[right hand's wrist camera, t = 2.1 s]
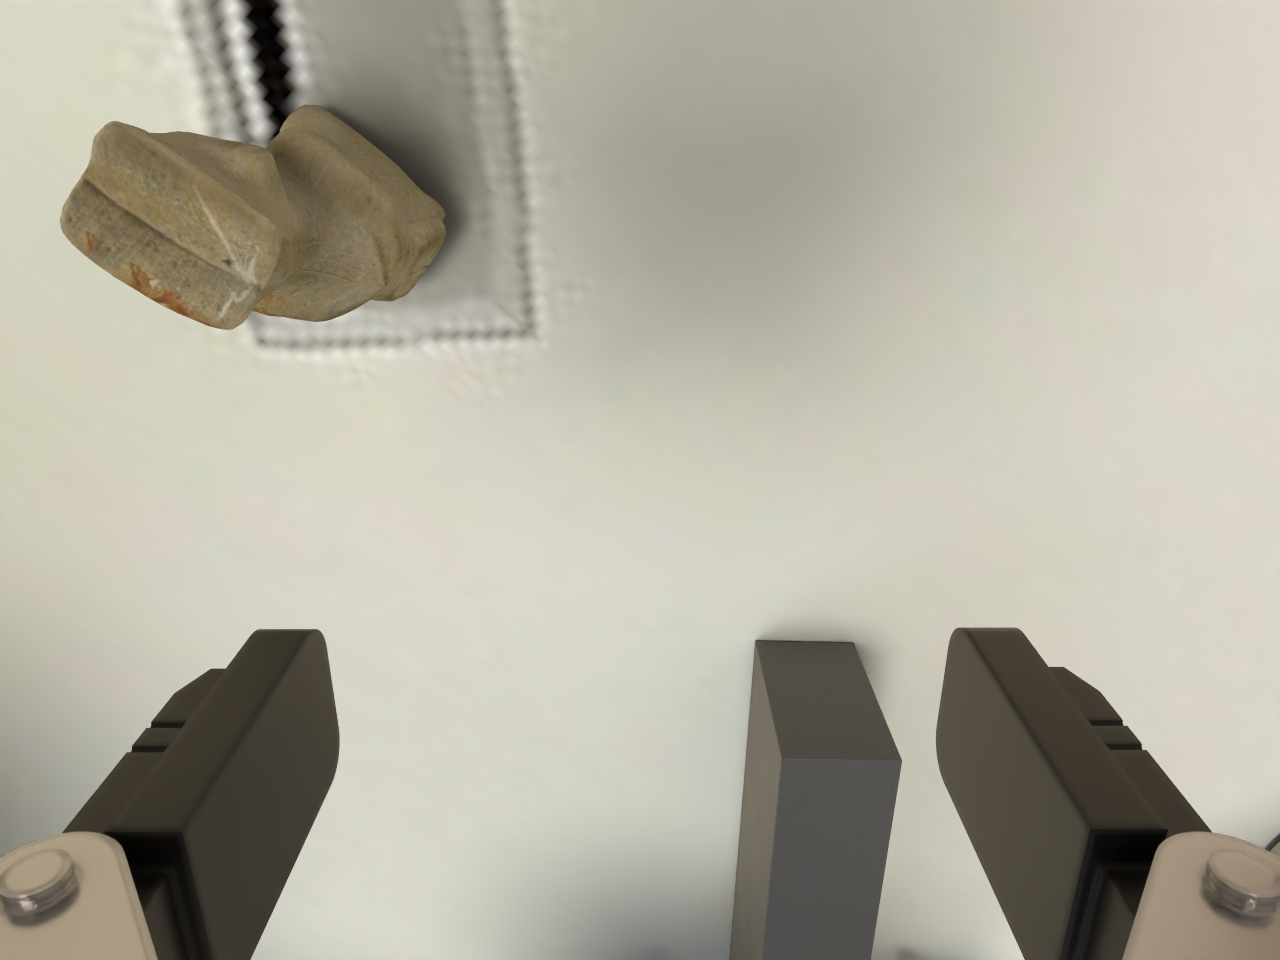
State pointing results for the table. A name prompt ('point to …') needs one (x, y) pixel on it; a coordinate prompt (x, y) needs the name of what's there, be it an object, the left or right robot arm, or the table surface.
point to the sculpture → (254, 220)
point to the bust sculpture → (1276, 849)
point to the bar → (812, 807)
